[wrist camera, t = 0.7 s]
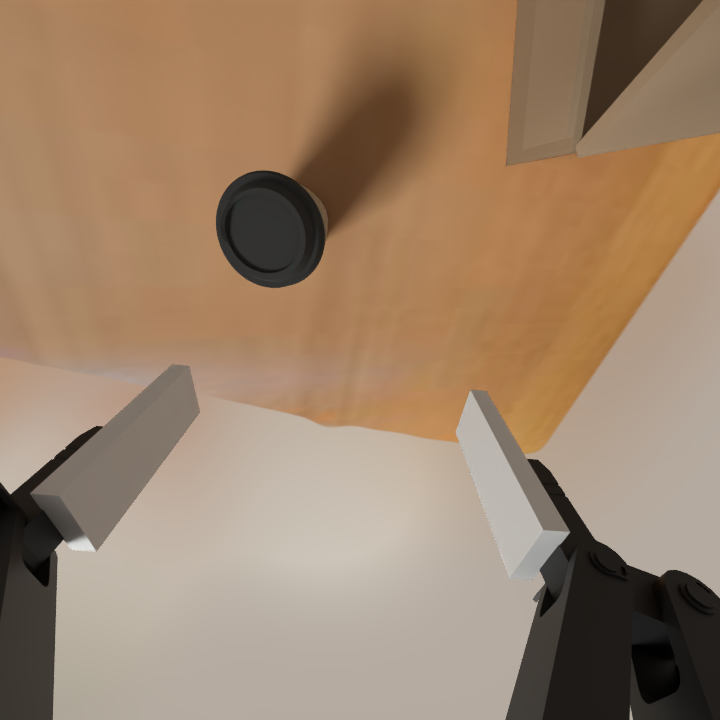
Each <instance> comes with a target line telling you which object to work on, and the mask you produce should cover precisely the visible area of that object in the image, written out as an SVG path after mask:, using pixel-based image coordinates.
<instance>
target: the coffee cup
mask: <svg viewBox="0 0 720 720" xmlns="http://www.w3.org/2000/svg"><path fill="white" fill-rule="evenodd" d="M216 230H217V236H218V240H219V243H220V246H221V249H222V251H223V253H224V255H225V257H226V258H227V260H228V261H229V263H230V264H231V265H232V267H233V268H234V269H235V270H236V271H237V272H238V273H239V274H240V275H242V276H243V277H244V278H246V279H247V280H249V281H251V282H253V283H255V284H257V285H260V286H264V287H270V288H280V287H285V286H289V285H293V284H296V283H298V282H300V281H302V280H304V279H305V278H307V277H308V276H309V275H310V274H311V273H312V272H313V271H314V270H315V268H316V267H317V265H318V264H319V262H320V260H321V257H322V254H323V250H324V246H325V241H326V237H327V231H328V216H327V212H326V209H325V207H324V205H323V203H322V202H321V200H320V199H319V198H318V197H317V196H316V195H315V194H314V193H313V192H312V191H311V190H309V189H308V188H306V187H304V186H303V185H301V184H299V183H297V182H296V181H294V180H293V179H291V178H289V177H287V176H285V175H283V174H280V173H277V172H273V171H254V172H250V173H247V174H245V175H243V176H241V177H239V178H237V179H236V180H235V181H234V182H232V183H231V184H230V185H229V186H228V188H227V189H226V190H225V192H224V193H223V195H222V197H221V200H220V202H219V205H218V209H217V215H216Z"/></svg>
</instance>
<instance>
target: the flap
mask: <svg viewBox="0 0 720 720" xmlns="http://www.w3.org/2000/svg"><path fill="white" fill-rule="evenodd" d="M716 133H720V0H703V1H702V2H701V3H700V4H699V6H698V7H697V8H696V9H695V10H694V11H693V12H692V14H691V15H690V16H689V17H688V18H687V19H686V20H685V22H684V23H683V24H682V25H681V26H680V27H679V28H678V30H677V31H676V32H675V33H674V34H673V35H672V36H671V38H670V39H669V40H668V41H667V42H666V43H665V44H664V46H663V47H662V48H661V49H660V50H659V51H658V52H657V54H656V55H655V56H654V57H653V58H652V59H651V60H650V62H649V63H648V64H647V65H646V66H645V67H644V68H643V70H642V71H641V72H640V73H639V74H638V75H637V76H636V78H635V79H634V80H633V81H632V82H631V83H630V84H629V86H628V87H627V88H626V89H625V90H624V91H623V92H622V94H621V95H620V96H619V97H618V98H617V99H616V100H615V102H614V103H613V104H612V105H611V106H610V107H609V108H608V110H607V111H606V112H605V113H604V114H603V115H602V116H601V118H600V119H599V120H598V121H597V122H596V123H595V124H594V126H593V127H592V128H591V129H590V130H589V131H588V132H587V134H586V135H585V136H584V137H583V138H582V139H581V140H580V142H579V143H578V144H577V145H576V152H577V158H579V157H585V156H591V155H596V154H602V153H608V152H613V151H619V150H625V149H630V148H636V147H642V146H647V145H653V144H659V143H665V142H670V141H676V140H682V139H687V138H693V137H699V136H704V135H710V134H716Z"/></svg>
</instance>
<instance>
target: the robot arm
mask: <svg viewBox="0 0 720 720" xmlns="http://www.w3.org/2000/svg"><path fill="white" fill-rule="evenodd" d="M199 413H200V410H199V405H198V401H197V397H196V393H195V388H194V384H193V380H192V376H191V371H190V367H189V366H185V365H174V364H172V365H171V366H170V367H169V368H168V369H167V370H166V371H164V372H163V373H162V374H161V375H160V376H159V377H158V378H157V379H156V380H155V381H153V382H152V383H151V384H150V385H149V386H148V387H147V388H146V389H145V390H143V392H141V393H140V394H139V395H138V396H137V397H136V398H135V399H134V400H132V401H131V402H130V403H129V404H128V405H127V406H126V407H125V408H124V409H123V410H121V411H120V412H119V413H118V414H117V415H116V416H115V417H114V418H113V419H111V420H110V421H109V422H108V423H107V424H106V425H105V426H104V427H102V426H96V427H94V428H92V429H90V430H88V431H87V432H85V433H83V434H81V435H80V436H79V437H77V438H76V439H75V440H74V441H72V442H71V443H70V444H69V445H68V446H67V447H66V449H65V450H62V451H61V452H60V453H58V454H57V455H56V456H55V458H54V459H53V460H50V461H49V462H48V463H47V464H46V465H44V466H43V467H42V468H41V469H40V470H39V471H38V472H37V473H35V474H34V475H33V476H32V477H31V478H30V479H28V480H27V481H26V482H25V483H24V484H22V485H21V486H20V487H19V488H18V489H17V490H15V491H14V492H13V493H12V494H11V495H10V494H9V493H8V491H7V490H6V489H5V488H4V486H3V485H2V484H1V483H0V720H53V689H54V655H55V622H56V620H55V619H56V590H57V587H56V586H57V555H56V552H55V549H56V547H57V546H58V545H59V544H60V543H61V542H62V540H63V539H64V541H65V542H66V543H67V545H68V546H69V547H70V549H71V550H81V551H97V550H98V549H99V547H100V546H101V545H102V544H103V542H104V541H105V539H106V538H107V537H108V535H109V534H110V533H111V531H112V530H113V529H114V527H115V526H116V524H117V523H118V522H119V521H120V519H121V518H122V517H123V515H124V514H125V513H126V511H127V510H128V508H129V507H130V506H131V504H132V503H133V502H134V500H135V499H136V498H137V496H138V495H139V494H140V492H141V491H142V490H143V488H144V487H145V486H146V484H147V483H148V481H149V480H150V479H151V478H152V476H153V475H154V473H155V472H156V471H157V469H158V468H159V467H160V465H161V464H162V463H163V461H164V460H165V459H166V457H167V456H168V455H169V453H170V452H171V451H172V449H173V448H174V446H175V445H176V444H177V443H178V441H179V440H180V438H181V437H182V436H183V434H184V433H185V432H186V430H187V429H188V428H189V426H190V425H191V424H192V422H193V421H194V420H195V418H196V417H197V416H198V414H199ZM456 435H457V438H458V440H459V443H460V445H461V448H462V451H463V454H464V457H465V459H466V462H467V465H468V467H469V470H470V473H471V476H472V478H473V481H474V484H475V487H476V489H477V492H478V495H479V497H480V500H481V503H482V506H483V508H484V511H485V514H486V516H487V519H488V522H489V524H490V527H491V530H492V532H493V535H494V538H495V541H496V544H497V546H498V549H499V552H500V554H501V557H502V560H503V563H504V565H505V568H506V571H507V573H508V576H509V578H510V579H522V580H533V579H534V577H535V576H536V575H537V574H538V572H539V571H540V572H541V574H542V576H543V578H544V581H545V584H544V586H543V587H542V588H541V589H540V591H539V592H538V593H537V594H536V595H535V597H534V598H533V600H534V601H535V602H537V601H538V600H539V601H538V605H537V608H536V612H535V616H534V619H533V623H532V626H531V630H530V634H529V637H528V641H527V644H526V648H525V652H524V655H523V659H522V662H521V666H520V669H519V673H518V677H517V680H516V684H515V687H514V691H513V695H512V698H511V702H510V705H509V709H508V713H507V716H506V720H629V715H630V706H631V711H632V716H633V720H720V598H719V597H718V596H717V595H716V594H715V593H714V592H713V591H712V590H711V589H710V588H708V587H707V586H706V585H705V584H703V583H702V582H701V581H699V580H697V579H696V578H694V577H692V576H691V575H688V574H687V573H684V572H681V571H678V570H669V571H667V572H666V573H664V574H663V575H662V576H661V577H658V576H655V575H653V574H650V573H647V572H645V571H642V570H639V569H637V568H634V567H631V566H629V565H627V564H626V562H624V560H623V559H622V558H621V557H620V556H619V555H618V554H617V553H616V552H615V551H613V550H612V549H611V548H609V547H608V546H607V545H604V544H602V543H600V542H598V541H596V540H595V539H594V538H593V536H592V535H591V533H590V532H589V530H588V528H587V527H586V525H585V524H584V522H583V521H582V519H581V518H580V516H579V515H578V513H577V512H576V510H575V509H574V507H573V505H572V504H571V502H570V501H569V499H568V498H567V497H565V493H564V492H563V490H562V489H561V487H560V486H558V482H557V481H556V479H555V478H554V476H553V475H552V473H551V472H550V471H549V470H548V469H547V468H546V467H545V466H544V465H543V464H542V463H541V462H540V461H539V460H533V459H526V457H525V455H524V454H523V452H522V450H521V448H520V447H519V445H518V443H517V442H516V440H515V438H514V437H513V435H512V433H511V432H510V430H509V428H508V427H507V425H506V423H505V422H504V420H503V418H502V417H501V415H500V413H499V412H498V410H497V408H496V407H495V405H494V403H493V401H492V400H491V398H490V396H489V395H488V393H487V391H479V390H470V392H469V395H468V398H467V401H466V404H465V407H464V410H463V413H462V416H461V419H460V422H459V425H458V427H457V430H456Z"/></svg>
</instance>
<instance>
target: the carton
mask: <svg viewBox="0 0 720 720" xmlns="http://www.w3.org/2000/svg"><path fill="white" fill-rule="evenodd" d="M702 1H703V0H518V8H517V21H516V35H515V48H514V62H513V75H512V88H511V102H510V115H509V129H508V142H507V156H506V166H507V165H513V164H519V163H524V162H530V161H536V160H541V159H547V158H553V157H558V156H564V155H570V154H575V153H577V152H576V145H577V144H578V143H579V142H580V140H581V139H582V138H583V137H584V136H585V135H586V134H587V132H588V131H589V130H590V129H591V128H592V127H593V126H594V124H595V123H596V122H597V121H598V120H599V119H600V118H601V116H602V115H603V114H604V113H605V112H606V111H607V110H608V108H609V107H610V106H611V105H612V104H613V103H614V102H615V100H616V99H617V98H618V97H619V96H620V95H621V94H622V92H623V91H624V90H625V89H626V88H627V87H628V86H629V84H630V83H631V82H632V81H633V80H634V79H635V78H636V76H637V75H638V74H639V73H640V72H641V71H642V70H643V68H644V67H645V66H646V65H647V64H648V63H649V62H650V60H651V59H652V58H653V57H654V56H655V55H656V54H657V52H658V51H659V50H660V49H661V48H662V47H663V46H664V44H665V43H666V42H667V41H668V40H669V39H670V38H671V36H672V35H673V34H674V33H675V32H676V31H677V30H678V28H679V27H680V26H681V25H682V24H683V23H684V22H685V20H686V19H687V18H688V17H689V16H690V15H691V14H692V12H693V11H694V10H695V9H696V8H697V7H698V6H699V4H700V3H701V2H702Z"/></svg>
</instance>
